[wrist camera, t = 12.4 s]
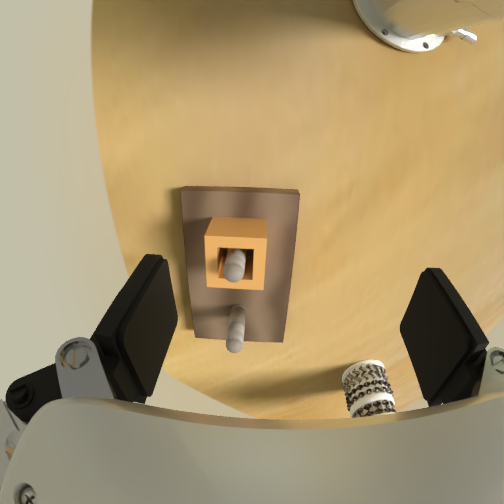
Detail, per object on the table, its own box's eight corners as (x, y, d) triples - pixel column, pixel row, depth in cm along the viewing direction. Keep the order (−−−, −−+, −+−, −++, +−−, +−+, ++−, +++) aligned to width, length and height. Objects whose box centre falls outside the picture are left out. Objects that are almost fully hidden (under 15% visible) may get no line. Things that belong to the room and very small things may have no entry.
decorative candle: (371, 350, 44) (408, 481, 22) (393, 369, 47) (427, 481, 25) (330, 376, 47) (349, 502, 25) (355, 392, 50) (376, 502, 28)
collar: (266, 219, 32) (267, 238, 27) (263, 266, 35) (263, 290, 30) (212, 216, 32) (204, 235, 27) (214, 263, 35) (206, 286, 30)
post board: (297, 189, 32) (310, 220, 24) (282, 333, 42) (285, 382, 34) (185, 186, 32) (158, 215, 24) (197, 328, 43) (185, 376, 34)
